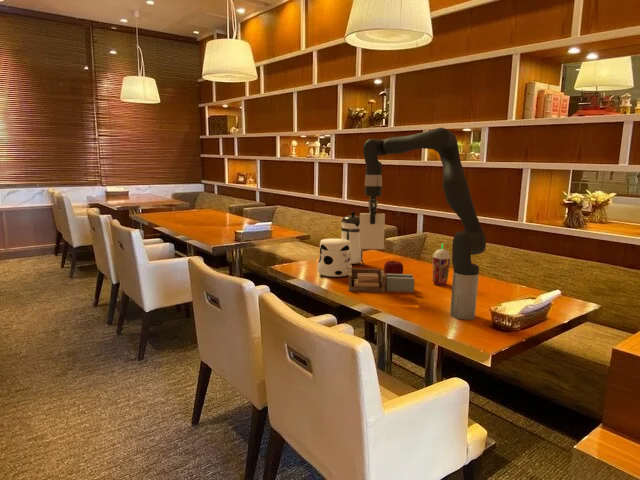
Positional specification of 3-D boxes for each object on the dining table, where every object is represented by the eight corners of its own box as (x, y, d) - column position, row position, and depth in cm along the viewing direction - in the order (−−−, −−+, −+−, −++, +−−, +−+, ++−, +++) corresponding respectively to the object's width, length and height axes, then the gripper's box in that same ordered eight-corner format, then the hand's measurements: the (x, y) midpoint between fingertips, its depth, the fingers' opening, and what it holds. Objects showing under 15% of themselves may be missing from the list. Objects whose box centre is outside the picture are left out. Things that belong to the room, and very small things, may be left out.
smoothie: (449, 287, 213) (452, 245, 209) (431, 285, 215) (433, 244, 211) (447, 282, 221) (450, 242, 217) (430, 281, 223) (433, 241, 219)
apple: (406, 280, 223) (407, 261, 221) (394, 284, 216) (395, 263, 215) (391, 276, 230) (392, 257, 228) (379, 279, 223) (380, 260, 222)
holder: (413, 294, 201) (414, 278, 200) (386, 293, 202) (387, 278, 200) (411, 288, 209) (412, 274, 208) (385, 288, 210) (385, 273, 208)
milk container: (357, 278, 226) (359, 243, 222) (326, 281, 218) (327, 245, 215) (341, 270, 241) (342, 237, 238) (312, 273, 234) (312, 239, 230)
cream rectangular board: (383, 249, 205) (385, 214, 202) (359, 248, 205) (360, 213, 202) (383, 248, 207) (384, 213, 204) (359, 247, 208) (360, 213, 205)
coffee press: (369, 263, 259) (372, 210, 253) (357, 268, 245) (358, 213, 240) (343, 258, 268) (344, 208, 262) (329, 264, 254) (330, 211, 249)
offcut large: (378, 291, 201) (379, 283, 201) (354, 290, 202) (354, 282, 201) (377, 287, 207) (378, 279, 206) (353, 286, 208) (354, 279, 207)
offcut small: (378, 282, 202) (378, 276, 201) (358, 282, 202) (358, 276, 201) (376, 279, 207) (377, 273, 206) (357, 279, 206) (357, 273, 206)
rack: (384, 294, 200) (385, 276, 198) (348, 293, 201) (349, 275, 199) (382, 285, 214) (383, 269, 212) (348, 284, 214) (348, 268, 213)
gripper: (383, 185, 194) (382, 225, 197) (380, 184, 208) (379, 221, 211) (365, 185, 195) (364, 225, 197) (364, 184, 208) (363, 221, 211)
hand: (372, 223), depth 204 cm, fingers closed on cream rectangular board, 2 cm apart
